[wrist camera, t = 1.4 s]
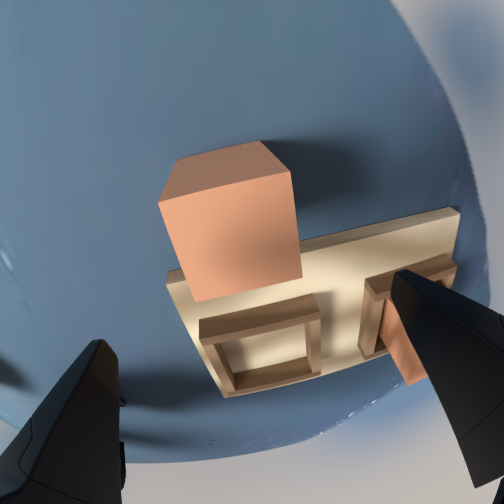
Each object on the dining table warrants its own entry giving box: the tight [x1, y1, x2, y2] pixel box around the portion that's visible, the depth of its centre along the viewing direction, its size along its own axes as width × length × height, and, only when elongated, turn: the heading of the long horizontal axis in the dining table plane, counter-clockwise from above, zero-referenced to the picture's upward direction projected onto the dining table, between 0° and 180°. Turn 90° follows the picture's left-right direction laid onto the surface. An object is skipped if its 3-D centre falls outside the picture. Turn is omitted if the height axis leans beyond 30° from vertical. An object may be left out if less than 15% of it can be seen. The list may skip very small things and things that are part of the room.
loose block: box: [158, 141, 303, 302], centre depth 14 cm, size 5×5×7 cm
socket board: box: [166, 207, 460, 398], centre depth 21 cm, size 16×24×8 cm, turn 101°
